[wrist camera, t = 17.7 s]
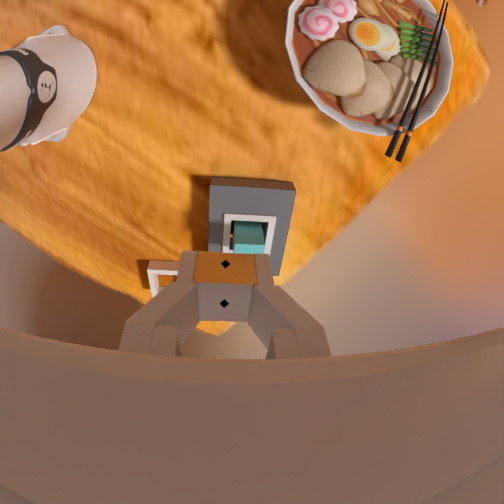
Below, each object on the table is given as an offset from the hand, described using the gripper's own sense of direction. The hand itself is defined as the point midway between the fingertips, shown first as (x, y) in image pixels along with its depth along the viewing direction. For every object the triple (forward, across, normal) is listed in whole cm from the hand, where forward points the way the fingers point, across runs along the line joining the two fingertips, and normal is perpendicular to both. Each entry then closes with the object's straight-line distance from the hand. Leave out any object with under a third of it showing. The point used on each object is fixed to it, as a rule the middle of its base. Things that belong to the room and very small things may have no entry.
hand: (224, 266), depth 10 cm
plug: (+31, -4, +18) cm, 36 cm away
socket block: (+31, -4, +18) cm, 36 cm away
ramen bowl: (+31, -16, -12) cm, 37 cm away
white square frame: (+31, +9, +30) cm, 44 cm away
